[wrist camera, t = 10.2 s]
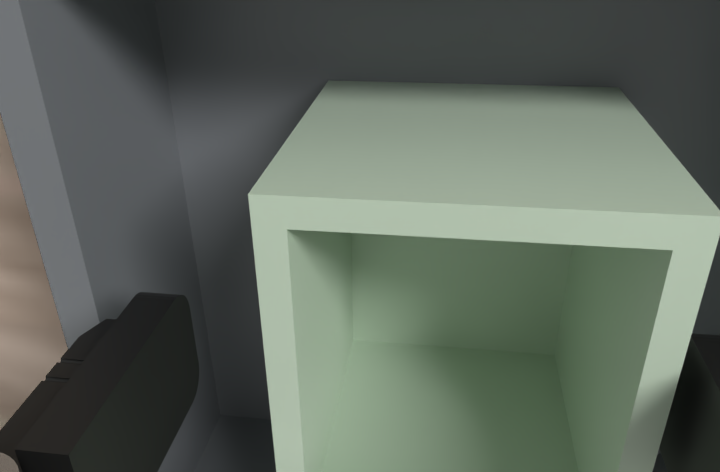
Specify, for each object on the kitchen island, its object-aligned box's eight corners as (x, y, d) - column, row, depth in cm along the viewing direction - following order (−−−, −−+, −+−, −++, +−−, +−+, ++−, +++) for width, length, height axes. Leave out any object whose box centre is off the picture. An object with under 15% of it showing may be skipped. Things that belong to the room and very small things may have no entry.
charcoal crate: (209, 409, 20) (131, 568, 15) (121, -116, 13) (-67, -122, 9) (696, 452, 18) (779, 648, 14) (881, -134, 12) (1180, -153, 7)
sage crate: (337, 342, 17) (283, 540, 12) (328, 80, 14) (247, 193, 9) (569, 359, 16) (621, 579, 11) (618, 87, 13) (725, 217, 8)
